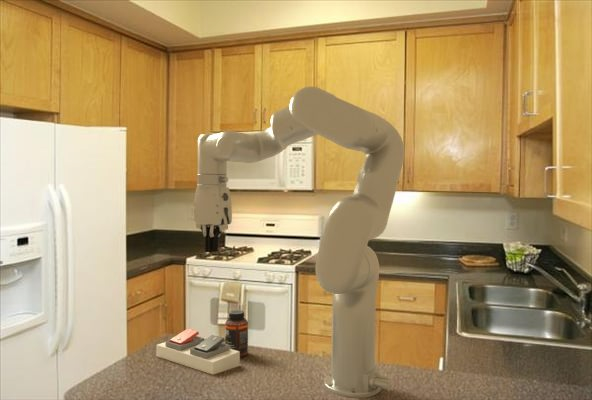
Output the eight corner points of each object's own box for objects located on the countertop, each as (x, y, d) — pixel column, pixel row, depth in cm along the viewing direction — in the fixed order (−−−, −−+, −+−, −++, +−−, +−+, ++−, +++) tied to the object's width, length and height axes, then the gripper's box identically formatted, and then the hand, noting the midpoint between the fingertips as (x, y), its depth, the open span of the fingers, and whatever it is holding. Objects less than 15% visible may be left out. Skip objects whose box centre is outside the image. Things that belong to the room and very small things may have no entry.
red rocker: (199, 338, 118) (198, 330, 118) (182, 350, 113) (180, 342, 113) (189, 335, 120) (187, 328, 120) (171, 347, 116) (169, 339, 115)
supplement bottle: (251, 351, 123) (251, 309, 123) (242, 359, 118) (243, 315, 117) (230, 349, 125) (231, 308, 125) (221, 357, 119) (221, 313, 119)
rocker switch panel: (239, 367, 112) (239, 346, 112) (212, 379, 105) (212, 357, 105) (183, 350, 124) (184, 331, 123) (156, 360, 116) (156, 340, 116)
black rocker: (225, 345, 113) (223, 337, 112) (208, 358, 108) (206, 350, 108) (213, 342, 115) (212, 334, 115) (196, 355, 110) (194, 346, 110)
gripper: (243, 182, 119) (242, 252, 120) (202, 182, 128) (202, 248, 128) (222, 181, 113) (221, 255, 113) (181, 181, 122) (181, 250, 122)
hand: (211, 251), depth 121 cm, fingers closed
